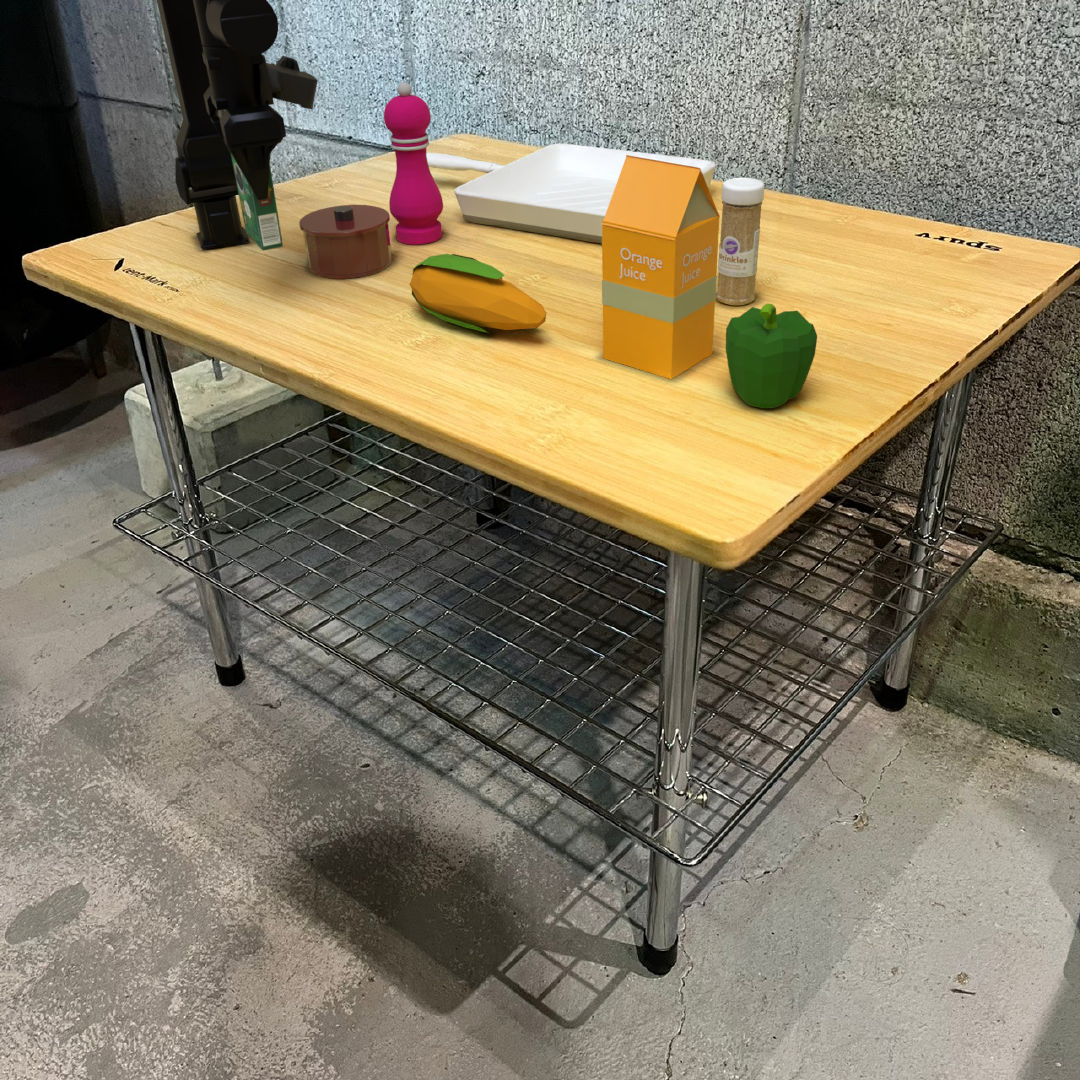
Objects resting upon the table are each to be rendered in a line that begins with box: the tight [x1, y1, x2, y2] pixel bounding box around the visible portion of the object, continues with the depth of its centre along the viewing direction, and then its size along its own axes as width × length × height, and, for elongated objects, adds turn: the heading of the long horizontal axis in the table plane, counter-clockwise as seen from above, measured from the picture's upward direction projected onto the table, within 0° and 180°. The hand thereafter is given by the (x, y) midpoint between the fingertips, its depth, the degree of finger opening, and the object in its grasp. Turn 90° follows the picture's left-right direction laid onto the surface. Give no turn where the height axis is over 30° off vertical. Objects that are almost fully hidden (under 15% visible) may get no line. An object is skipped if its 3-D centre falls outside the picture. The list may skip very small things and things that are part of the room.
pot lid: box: [298, 204, 391, 237], centre depth 138 cm, size 11×11×2 cm
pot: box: [302, 222, 393, 280], centre depth 140 cm, size 11×11×6 cm
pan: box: [426, 142, 717, 245], centre depth 159 cm, size 28×45×5 cm, turn 58°
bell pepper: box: [725, 303, 818, 409], centre depth 103 cm, size 8×8×10 cm
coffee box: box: [231, 154, 284, 251], centre depth 125 cm, size 8×3×13 cm, turn 26°
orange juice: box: [601, 155, 721, 380], centre depth 109 cm, size 8×9×20 cm
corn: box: [409, 253, 547, 334], centre depth 121 cm, size 7×8×20 cm
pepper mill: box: [383, 81, 444, 246], centre depth 144 cm, size 7×7×20 cm
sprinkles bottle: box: [716, 177, 765, 306], centre depth 123 cm, size 5×5×13 cm
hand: (257, 190), depth 125 cm, fingers closed on coffee box, 8 cm apart
